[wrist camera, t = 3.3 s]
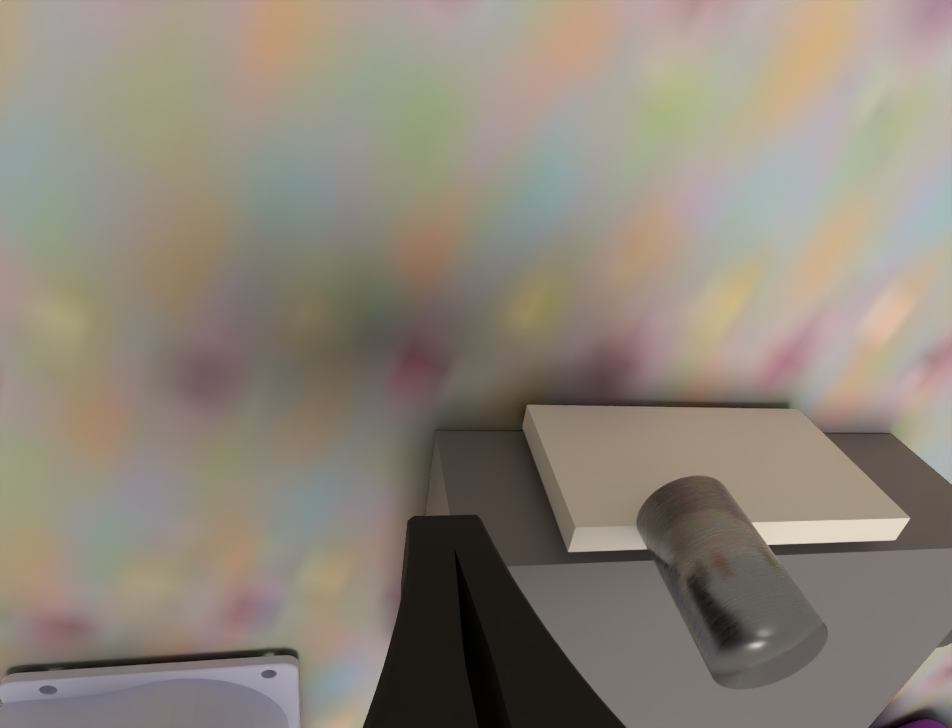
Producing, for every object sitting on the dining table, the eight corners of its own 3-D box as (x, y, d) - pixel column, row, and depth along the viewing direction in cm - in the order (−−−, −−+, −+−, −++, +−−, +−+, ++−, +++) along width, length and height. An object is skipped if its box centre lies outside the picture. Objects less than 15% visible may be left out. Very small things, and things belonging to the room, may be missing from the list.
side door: (522, 427, 18) (623, 703, 11) (536, 360, 17) (659, 623, 10) (788, 428, 20) (1017, 667, 13) (818, 369, 19) (1087, 595, 12)
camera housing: (409, 641, 23) (420, 788, 19) (435, 429, 18) (459, 567, 14) (811, 615, 27) (896, 733, 22) (930, 432, 21) (1068, 542, 17)
